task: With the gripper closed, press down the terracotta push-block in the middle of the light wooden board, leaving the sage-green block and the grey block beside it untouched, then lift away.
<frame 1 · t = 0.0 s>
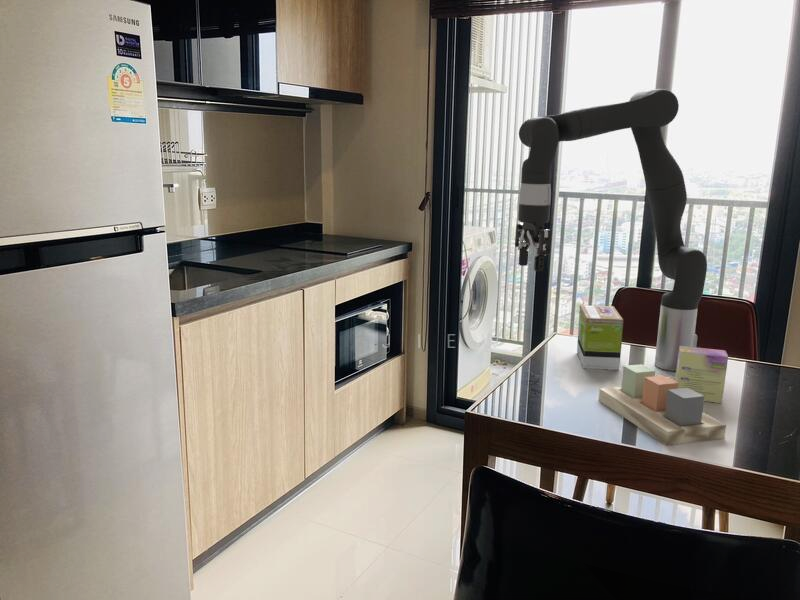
hand: (530, 268, 163), 29 cm above the table, fingers open, 8 cm apart
button terracotta: (659, 393, 145), point 6 cm above the table, slide at 0.0 cm
button sage: (637, 381, 152), point 6 cm above the table, slide at 0.0 cm
tea box: (596, 362, 185), on the table
grey block: (684, 407, 137), point 6 cm above the table, slide at 0.0 cm
light wooden board: (657, 418, 146), on the table
box: (697, 397, 159), on the table
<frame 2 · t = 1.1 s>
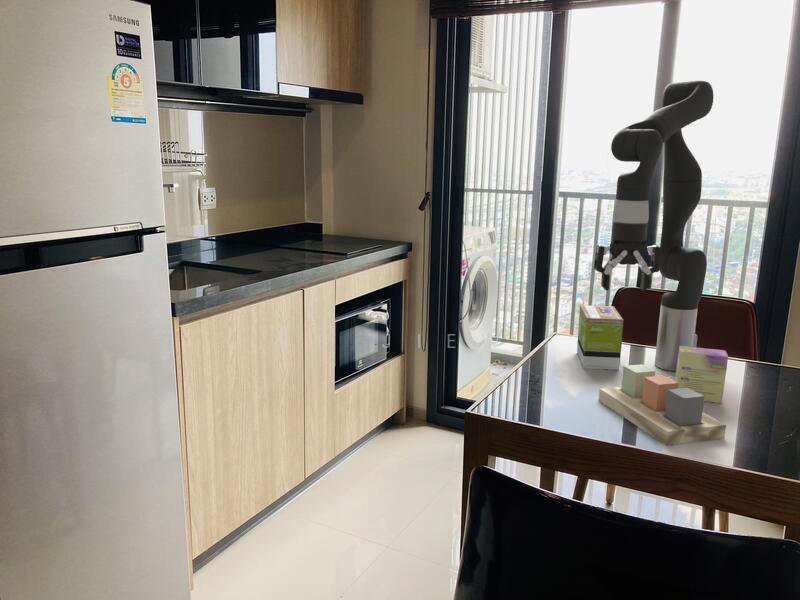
hand: (624, 289, 152), 27 cm above the table, fingers open, 8 cm apart
nothing on the table moved.
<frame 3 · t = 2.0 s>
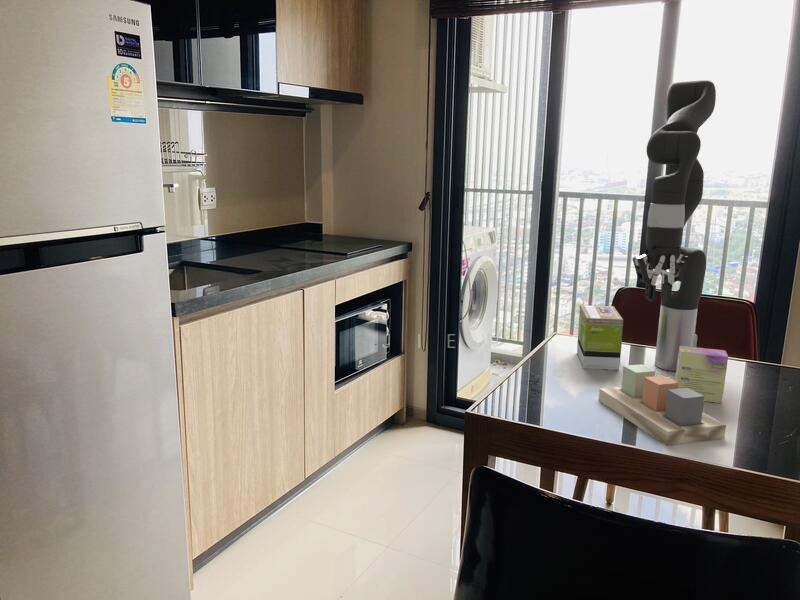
hand: (657, 299, 149), 25 cm above the table, fingers open, 3 cm apart
nothing on the table moved.
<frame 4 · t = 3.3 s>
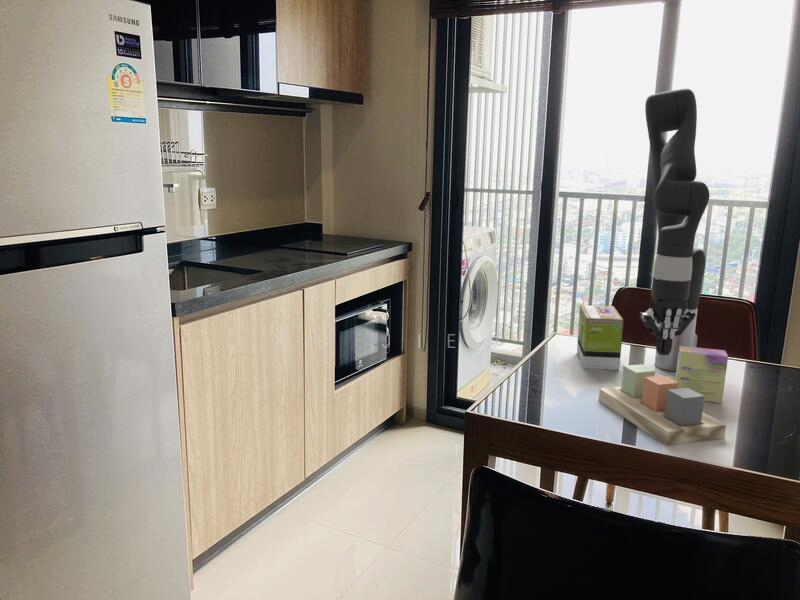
hand: (662, 354, 143), 15 cm above the table, fingers closed
nothing on the table moved.
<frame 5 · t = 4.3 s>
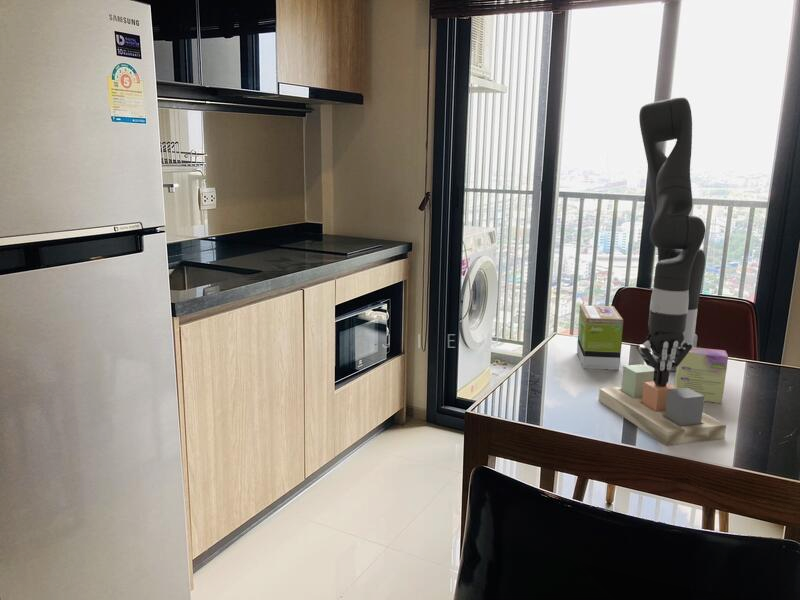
hand: (660, 385, 144), 8 cm above the table, fingers closed
button terracotta: (659, 399, 145), point 5 cm above the table, slide at 1.2 cm, touching gripper
everything else where it was.
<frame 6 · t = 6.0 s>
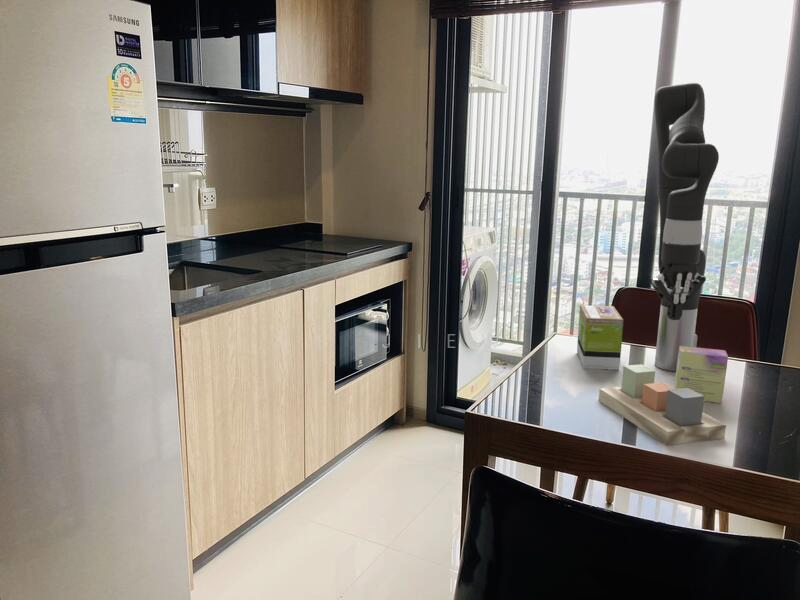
hand: (673, 319, 143), 22 cm above the table, fingers closed
button terracotta: (659, 400, 145), point 4 cm above the table, slide at 1.6 cm
everything else where it was.
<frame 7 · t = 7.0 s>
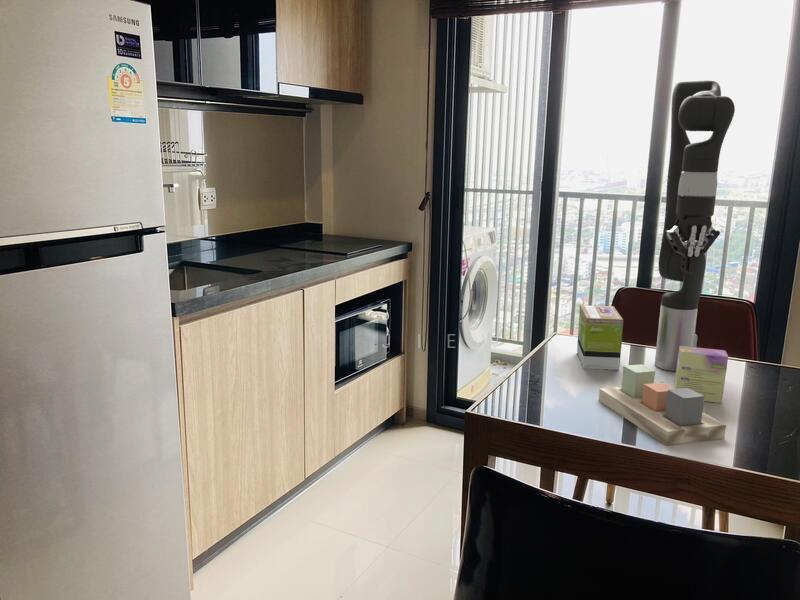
hand: (687, 272, 144), 32 cm above the table, fingers closed
nothing on the table moved.
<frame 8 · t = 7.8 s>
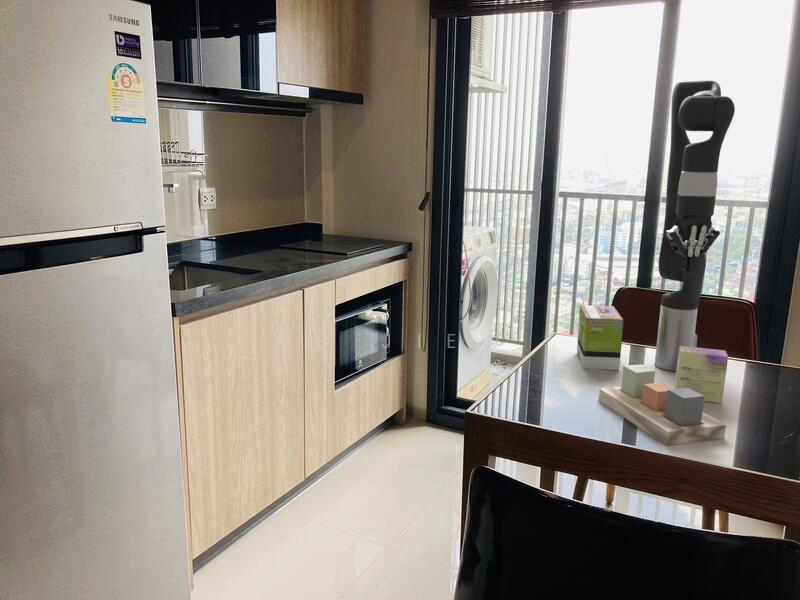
hand: (687, 272, 144), 32 cm above the table, fingers closed
nothing on the table moved.
at the end: button terracotta slide at 1.6 cm; button sage slide at 0.0 cm; grey block slide at 0.0 cm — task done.
